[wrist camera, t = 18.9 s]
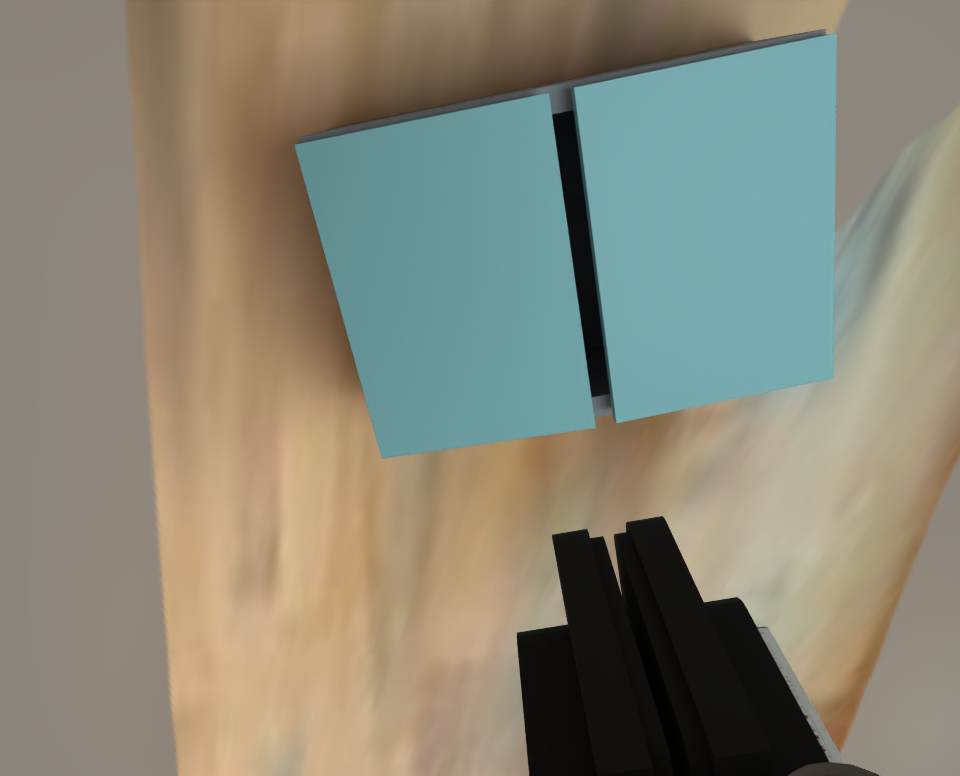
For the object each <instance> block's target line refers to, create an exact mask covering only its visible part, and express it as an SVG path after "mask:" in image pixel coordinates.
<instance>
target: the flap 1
mask: <svg viewBox="0 0 960 776" xmlns="http://www.w3.org/2000/svg"><path fill="white" fill-rule="evenodd" d="M294 146H295V149H296V153H297V157H298V160H299V164H300V167H301V171H302V174H303V178H304V182H305V185H306V189H307V192H308V196H309V199H310V203H311V207H312V210H313V214H314V217H315V221H316V224H317V228H318V232H319V235H320V239H321V242H322V246H323V250H324V253H325V257H326V260H327V264H328V267H329V271H330V275H331V278H332V282H333V285H334V289H335V292H336V296H337V300H338V303H339V307H340V310H341V314H342V317H343V321H344V325H345V328H346V332H347V335H348V339H349V342H350V346H351V350H352V353H353V357H354V360H355V364H356V367H357V371H358V375H359V378H360V382H361V385H362V389H363V392H364V396H365V400H366V403H367V407H368V410H369V414H370V417H371V421H372V425H373V428H374V432H375V435H376V439H377V442H378V446H379V450H380V453H381V457H382V458H389V457H396V456H403V455H410V454H417V453H424V452H431V451H438V450H445V449H452V448H459V447H466V446H473V445H480V444H487V443H494V442H501V441H508V440H515V439H522V438H529V437H536V436H543V435H550V434H557V433H564V432H571V431H577V430H584V429H591V428H596V427H595V419H594V412H593V405H592V398H591V391H590V384H589V377H588V369H587V362H586V355H585V348H584V341H583V334H582V327H581V319H580V312H579V305H578V298H577V291H576V284H575V277H574V269H573V262H572V255H571V248H570V241H569V234H568V227H567V219H566V212H565V205H564V198H563V191H562V184H561V177H560V169H559V162H558V155H557V148H556V141H555V134H554V127H553V119H552V112H551V105H550V98H549V93H544V94H539V95H534V96H529V97H525V98H520V99H515V100H510V101H505V102H500V103H495V104H490V105H485V106H481V107H476V108H471V109H466V110H461V111H456V112H451V113H446V114H441V115H436V116H432V117H427V118H422V119H417V120H412V121H407V122H402V123H397V124H392V125H388V126H383V127H378V128H373V129H368V130H363V131H358V132H353V133H348V134H343V135H339V136H334V137H329V138H324V139H319V140H314V141H309V142H304V143H299V144H296V145H294Z"/></svg>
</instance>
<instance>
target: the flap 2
mask: <svg viewBox="0 0 960 776" xmlns="http://www.w3.org/2000/svg"><path fill="white" fill-rule="evenodd" d="M836 39H837V33H835V34H828V35H823V36H819V37H814V38H809V39H804V40H799V41H795V42H790V43H785V44H780V45H775V46H770V47H766V48H761V49H756V50H751V51H746V52H742V53H737V54H732V55H727V56H722V57H717V58H713V59H708V60H703V61H698V62H693V63H689V64H684V65H679V66H674V67H669V68H665V69H660V70H655V71H650V72H645V73H640V74H636V75H631V76H626V77H621V78H616V79H612V80H607V81H602V82H597V83H592V84H587V85H583V86H578V87H573V88H571V94H572V102H573V109H574V117H575V125H576V133H577V141H578V148H579V156H580V164H581V172H582V180H583V187H584V195H585V203H586V211H587V219H588V226H589V234H590V242H591V250H592V258H593V265H594V273H595V281H596V289H597V297H598V304H599V312H600V320H601V328H602V336H603V343H604V351H605V359H606V367H607V375H608V382H609V390H610V398H611V406H612V414H613V418H614V420H615V422H616V423H620V422H625V421H630V420H635V419H639V418H644V417H649V416H654V415H659V414H663V413H668V412H673V411H678V410H683V409H687V408H692V407H697V406H702V405H707V404H711V403H716V402H721V401H726V400H731V399H736V398H740V397H745V396H750V395H755V394H760V393H764V392H769V391H774V390H779V389H784V388H788V387H793V386H798V385H803V384H808V383H812V382H817V381H822V380H827V379H832V378H833V365H834V259H835V151H836V150H835V149H836V148H835V147H836V143H835V142H836V45H837V44H836V42H837V40H836Z"/></svg>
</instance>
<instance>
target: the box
mask: <svg viewBox="0 0 960 776" xmlns="http://www.w3.org/2000/svg"><path fill="white" fill-rule="evenodd" d="M823 35H826V29H822V30H817V31H811V32H805V33H799V34H793V35H788V36H782V37H776V38H770V39H764V40H759V41H753V42H748V43H743V44H738V45H734V46H729V47H724V48H719V49H714V50H709V51H705V52H700V53H695V54H690V55H685V56H680V57H676V58H671V59H666V60H661V61H656V62H651V63H647V64H642V65H637V66H632V67H627V68H622V69H618V70H613V71H608V72H603V73H598V74H593V75H589V76H584V77H579V78H574V79H569V80H564V81H560V82H555V83H550V84H545V85H540V86H535V87H531V88H526V89H521V90H516V91H511V92H506V93H502V94H497V95H492V96H487V97H482V98H477V99H473V100H468V101H463V102H458V103H453V104H448V105H444V106H439V107H434V108H429V109H424V110H419V111H414V112H410V113H405V114H400V115H395V116H390V117H385V118H381V119H376V120H371V121H366V122H361V123H356V124H352V125H347V126H342V127H337V128H332V129H328V130H325V131H321V132H318V133H314V134H310V135H307V136H303V137H300V138H298V139H299V143H304V142H309V141H314V140H319V139H324V138H329V137H334V136H339V135H343V134H348V133H353V132H358V131H363V130H368V129H373V128H378V127H383V126H388V125H392V124H397V123H402V122H407V121H412V120H417V119H422V118H427V117H432V116H436V115H441V114H446V113H451V112H456V111H461V110H466V109H471V108H476V107H481V106H485V105H490V104H495V103H500V102H505V101H510V100H515V99H520V98H525V97H529V96H534V95H539V94H544V93H549V98H550V105H551V112H552V119H553V127H554V134H555V141H556V148H557V155H558V162H559V169H560V177H561V184H562V191H563V198H564V205H565V212H566V219H567V227H568V234H569V241H570V248H571V255H572V262H573V269H574V277H575V284H576V291H577V298H578V305H579V312H580V319H581V327H582V334H583V341H584V348H585V355H586V362H587V369H588V377H589V384H590V391H591V398H592V405H593V412H594V417H599V416H605V415H610V414H612V406H611V398H610V390H609V382H608V375H607V367H606V359H605V351H604V343H603V336H602V328H601V320H600V312H599V304H598V297H597V289H596V281H595V273H594V265H593V258H592V250H591V242H590V234H589V226H588V219H587V211H586V203H585V195H584V187H583V180H582V172H581V164H580V156H579V148H578V141H577V133H576V125H575V117H574V109H573V102H572V94H571V88H573V87H578V86H583V85H587V84H592V83H597V82H602V81H607V80H612V79H616V78H621V77H626V76H631V75H636V74H640V73H645V72H650V71H655V70H660V69H665V68H669V67H674V66H679V65H684V64H689V63H693V62H698V61H703V60H708V59H713V58H717V57H722V56H727V55H732V54H737V53H742V52H746V51H751V50H756V49H761V48H766V47H770V46H775V45H780V44H785V43H790V42H795V41H799V40H804V39H809V38H814V37H819V36H823Z"/></svg>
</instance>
